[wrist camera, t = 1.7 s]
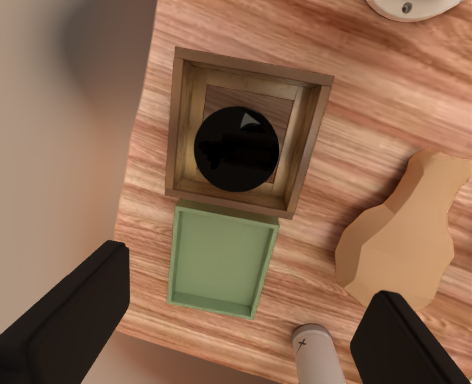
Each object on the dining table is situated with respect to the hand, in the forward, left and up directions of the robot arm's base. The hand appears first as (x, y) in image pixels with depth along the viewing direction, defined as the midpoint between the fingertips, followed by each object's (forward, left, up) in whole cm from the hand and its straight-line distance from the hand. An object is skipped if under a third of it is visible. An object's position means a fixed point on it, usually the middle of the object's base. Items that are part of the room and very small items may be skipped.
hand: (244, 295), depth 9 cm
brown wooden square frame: (-3, -2, -21) cm, 22 cm away
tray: (+14, -2, -21) cm, 26 cm away
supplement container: (-3, -2, -22) cm, 22 cm away
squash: (+4, +18, -22) cm, 28 cm away
